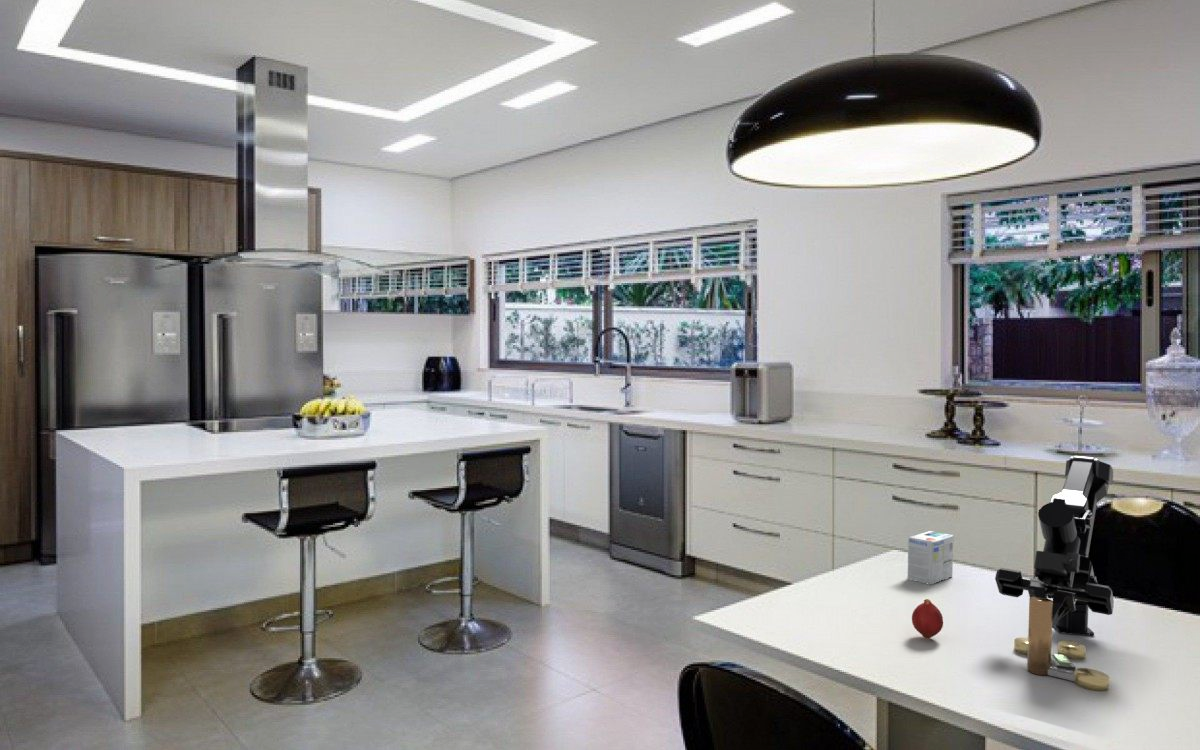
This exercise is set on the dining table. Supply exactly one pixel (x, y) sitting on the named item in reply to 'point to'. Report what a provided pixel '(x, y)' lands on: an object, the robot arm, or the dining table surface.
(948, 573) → the light bulb box
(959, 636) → the dining table surface
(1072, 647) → the tribrach plate
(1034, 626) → the knob lever
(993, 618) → the dining table surface
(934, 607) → the onion
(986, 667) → the dining table surface
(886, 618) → the dining table surface
